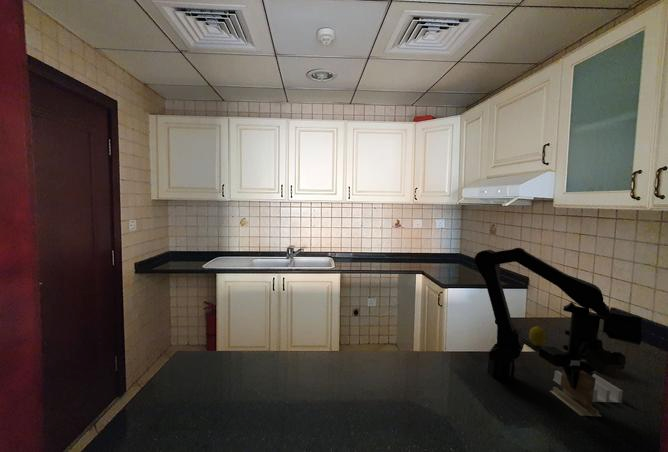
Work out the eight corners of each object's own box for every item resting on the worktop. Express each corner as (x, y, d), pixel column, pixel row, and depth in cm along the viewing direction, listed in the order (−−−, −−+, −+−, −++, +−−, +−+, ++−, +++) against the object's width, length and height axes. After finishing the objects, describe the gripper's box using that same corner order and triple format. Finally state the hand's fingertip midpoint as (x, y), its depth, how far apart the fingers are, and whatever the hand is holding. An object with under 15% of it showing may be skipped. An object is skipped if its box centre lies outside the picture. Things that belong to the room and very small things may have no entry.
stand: (580, 418, 74) (581, 410, 74) (549, 393, 84) (550, 386, 84) (601, 419, 74) (602, 411, 74) (568, 394, 84) (568, 387, 84)
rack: (581, 403, 80) (582, 390, 80) (552, 381, 90) (553, 369, 90) (622, 405, 81) (624, 391, 80) (589, 383, 91) (591, 371, 90)
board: (586, 405, 75) (589, 378, 74) (560, 386, 83) (563, 361, 82) (592, 405, 75) (595, 378, 74) (565, 386, 83) (568, 362, 82)
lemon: (547, 350, 112) (550, 329, 112) (531, 348, 113) (534, 327, 113) (540, 344, 118) (543, 324, 117) (525, 341, 119) (527, 322, 118)
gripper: (576, 343, 69) (568, 407, 70) (651, 347, 70) (642, 410, 71) (540, 324, 80) (534, 380, 81) (605, 328, 81) (598, 383, 82)
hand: (576, 388), depth 79 cm, fingers closed on board, 2 cm apart
